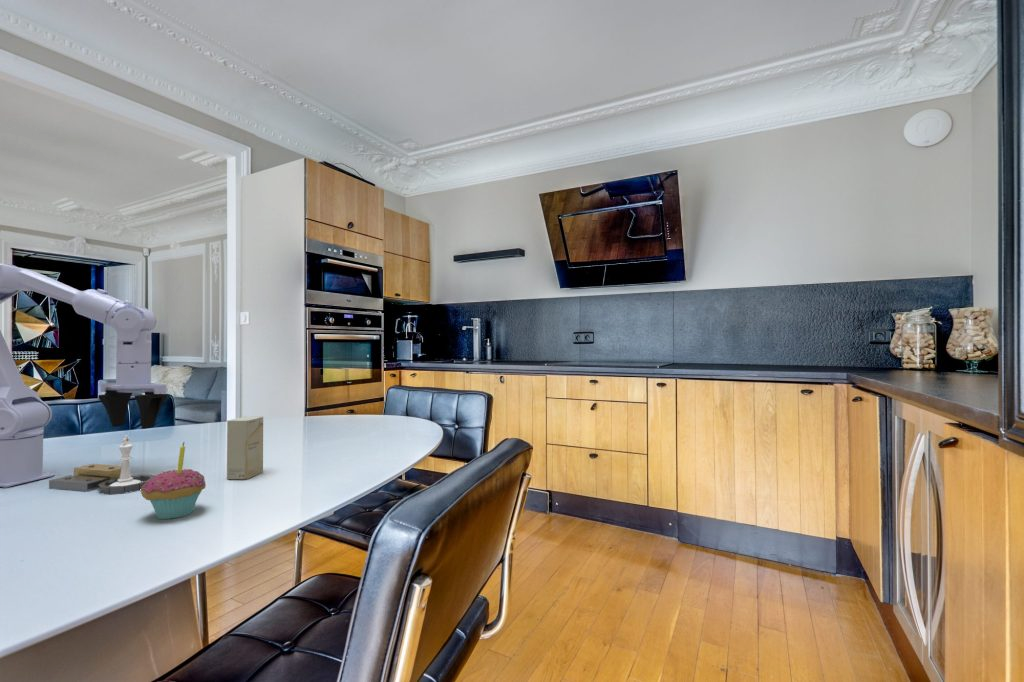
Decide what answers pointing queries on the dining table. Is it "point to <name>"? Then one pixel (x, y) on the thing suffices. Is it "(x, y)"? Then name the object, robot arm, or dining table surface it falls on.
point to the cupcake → (174, 490)
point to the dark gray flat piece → (97, 484)
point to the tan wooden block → (98, 471)
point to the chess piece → (125, 465)
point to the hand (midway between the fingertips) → (133, 426)
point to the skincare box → (244, 447)
